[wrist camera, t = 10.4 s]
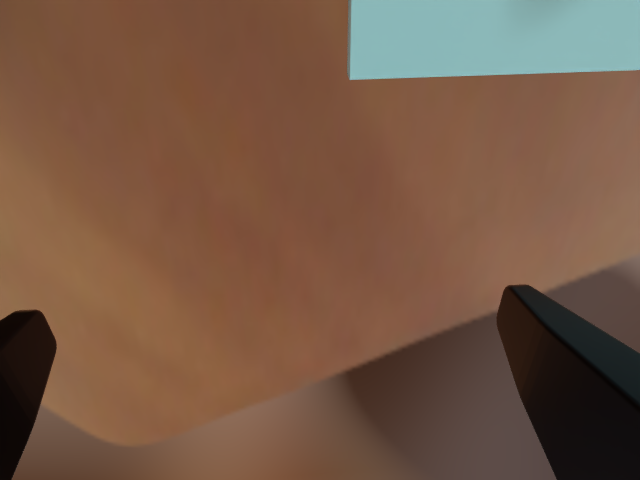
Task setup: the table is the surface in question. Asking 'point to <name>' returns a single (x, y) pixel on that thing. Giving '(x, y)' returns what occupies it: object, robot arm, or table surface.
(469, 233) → the table surface
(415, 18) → the cover
